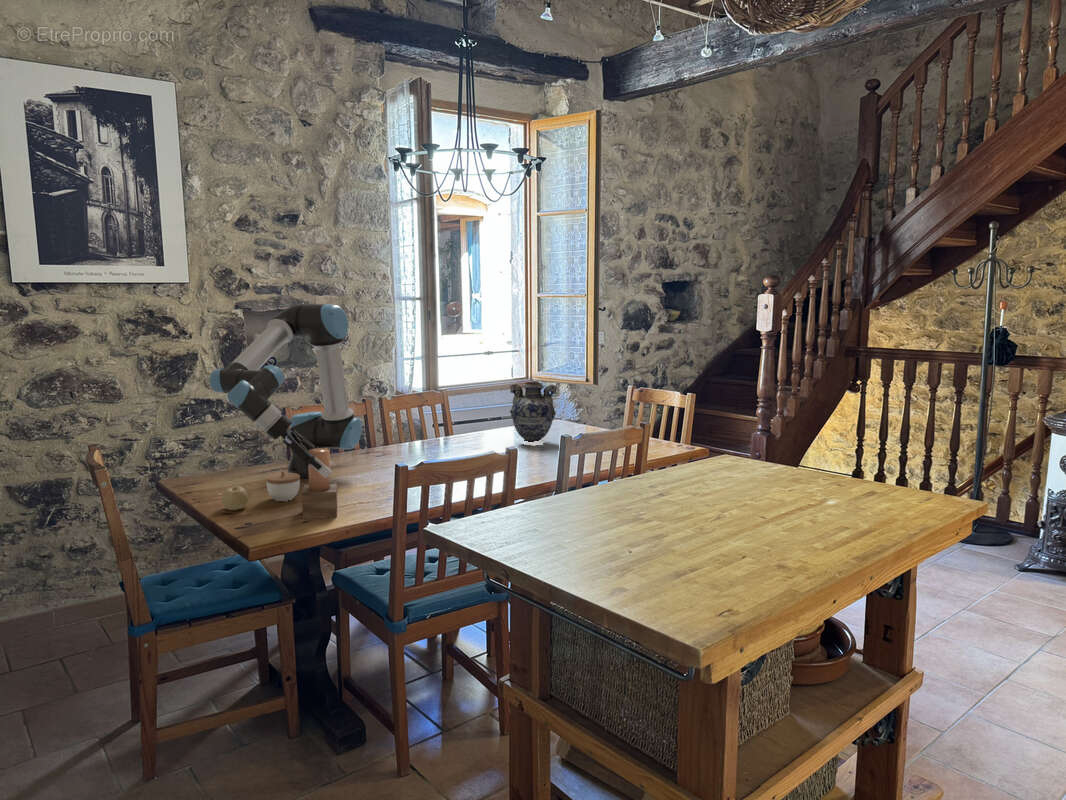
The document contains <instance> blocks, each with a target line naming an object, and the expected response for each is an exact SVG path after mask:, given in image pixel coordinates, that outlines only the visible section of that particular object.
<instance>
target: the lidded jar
mask: <svg viewBox="0 0 1066 800" xmlns="http://www.w3.org/2000/svg"><path fill="white" fill-rule="evenodd" d="M300 480H301V478H300V475H299V474H296V473H287V472H285V470H283V471H280V472H279V473H278V472H277V473H272V474H268V475H267V476H266V477H265V482H266V489H267V492H268V495H269V496H270V497H271V498H272V499H273V501H275V500H276V501H275V502H278V501H284V502H289V501H288V500H290V501H292V499H293V498H295V497H296V496H297V495H298V494H299V490H300V485H301V481H300ZM293 500H294V499H293Z"/></svg>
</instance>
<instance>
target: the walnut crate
mask: <svg viewBox="0 0 1066 800" xmlns="http://www.w3.org/2000/svg"><path fill="white" fill-rule="evenodd" d="M301 498H302V499H301V501H302V502H301V503H302V504H301V505H302V519H303V520H305V519H304V518H314V519H323V518H322V517H331V518H337V517H338V509H337V508H338V507H339V506H338V483H330V489H328V490H325V491H312V490H309V484H304V485H303V488H302V492H301Z"/></svg>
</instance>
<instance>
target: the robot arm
mask: <svg viewBox="0 0 1066 800" xmlns="http://www.w3.org/2000/svg"><path fill="white" fill-rule="evenodd" d="M348 319H349V318H348V315H347V314H346V312H345V310H344V309H343V308H342V307H341V306H339V305H335V304H330V303H321V304H320V303H319V304H318V303H314V304H312V303H311V304H310V303H307V304H305V303H298V304H295V305H291V306H289V307H287V308H285V309H283V310H281V311H280V312H279V313H278V314H276V315H275V316H274V317H273V318H271V319H270V320H269V321H268V322H267V324H266V328H265V329H264V331H262V333H260V334H259V335H258V337H256V338H255V339H254V340H253V341H252V342H251V343H250V344H249V345H248V346H247V347H246V348H245V349H244V350H243V351H242V352H241V353H240V354H239V355H237V357H236V358H235V359H234V360H233V361H231V362H230V364H229V365H228V366H227V367H226V368H217V369H214V370H213V371H212V372H211V374H210V375H209V379H208V380H209V381H208V382H209V385H210V388H211V389H212V391H213V392H215V393H222V394H225V395H226V399H227V400H228V401H229V402H230V403H231V404H233V406H234V407H235V408H236V409H238V410H239V411H240V412H241V413H242V414H243V415H245V416H246V417H247V418H248V419H249V420H251V421H252V422H254V424H255V427H256V428H260V429H262V431H266V434H267V435H268V436H269V437H271V438H272V439H273V440H277V439H278V438H279V437H281V438H282V439H283V440H282V443H284V444H285V445H286V446H287V447H288V448H289V449H290V450H291V453H290V454H291V455H290V459H289V462H288V465H287V467H286V468H287V469H286V470H287V471H286V473H296V474H299V475H300V479H309V468H308V465H311V466H312V467H313V468H314V469H315V470H316V471H318V472H319V473H320V474H321V475H322V476H323V477H324V478H326V477H327V476H328V475H329V474H330V475H331V474H332V472H333V471H332V470H331V468H330V469H329V468H327V467H326V466H325V465H324V464H323V463H322V462H321V461H319V460H318V459H317V458H316V457H315V458H314V456H313V455H312V454H311V453H310V452H309V451H308V450H310V449H316V448H325V449H336V450H351V449H355V448H356V446H357V445H358V444H359V442H360V440H361V438H362V433H363V423H362V421H361V420H360V419H359V418H358V417H355V415H354V413H355V412H354V410H353V409H352V408H350V407H349V406H350V405H349V401H348V393H347V385H346V379H345V371H344V364H343V363H344V362H343V357H342V348H341V346H342V344H343V343H344V340H345V339H344V338H345V337H346V336H347V335H348V332H349V326H350V325H349V320H348ZM296 338H309V339H308V340H309V345H310V346H311V347H313V348H314V350H315V354H316V362H317V368H318V373H319V374H318V376H319V380H320V381H319V382H320V387H321V395H322V401H323V408H324V411H323V412H322V411H309V412H303V413H298V414H295V415H292V416H291V417H290V418H289V417H288V416H286V415H285V414H282V410H280V409H279V408H278V407H277V406H276V405H274V404H273V403H272V402H271V401H270V400H269V399H270V398H271V396H272V395H274V394H275V393H276V392H277V391H278V390H279V389H280V388H281V385H282V384H283V383H284V381H285V375H284V373H283V371H282V370H281V368H280V367H278V366H276V365H274V364H268V365H265V364H266V363H267V362H268V361H269V360H270V358H272V357H273V356H274V354H275V353H277V351H278V350H279V349H280V348H281V347H282V346H283V345H284V344H288V343H290V342H291V341H293V340H294V339H296ZM264 365H265V366H264ZM263 366H264V367H263ZM332 465H333V462H332V461H331V460H330V467H332Z"/></svg>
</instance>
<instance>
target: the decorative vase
mask: <svg viewBox="0 0 1066 800" xmlns="http://www.w3.org/2000/svg"><path fill="white" fill-rule="evenodd" d="M509 388H510V393H511V394H514V396H513V397H512V405H511V409H510V411H509V413H510V414H511V415H510V416H511V419H512V421H513V427H514V428H515V431H516V432H517V434H518V436H520V437H521V438H522V439H523V440H524V441H528V442H534V441H539V440H542V439H543V438H544V437H546V436H547V434H548V433H549V432H550V429H551V427H552V425H553V421H554V419H555V415H556V410H555V406H554V399H553V395H556V394H557V390H558V389H557V388H558V387H557V385H554V384H549V385H547V386H545V385H543V383H542V382H534V381H533V382H532V381H531V382H530V381H529V382H524V384H523V385H522V387H521V385H519V384H518V383H513V384H511V385H510V387H509ZM523 388H524V389H523ZM542 389H543V395H542ZM523 390H525V392H524V391H523ZM524 393H525V394H524Z"/></svg>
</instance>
